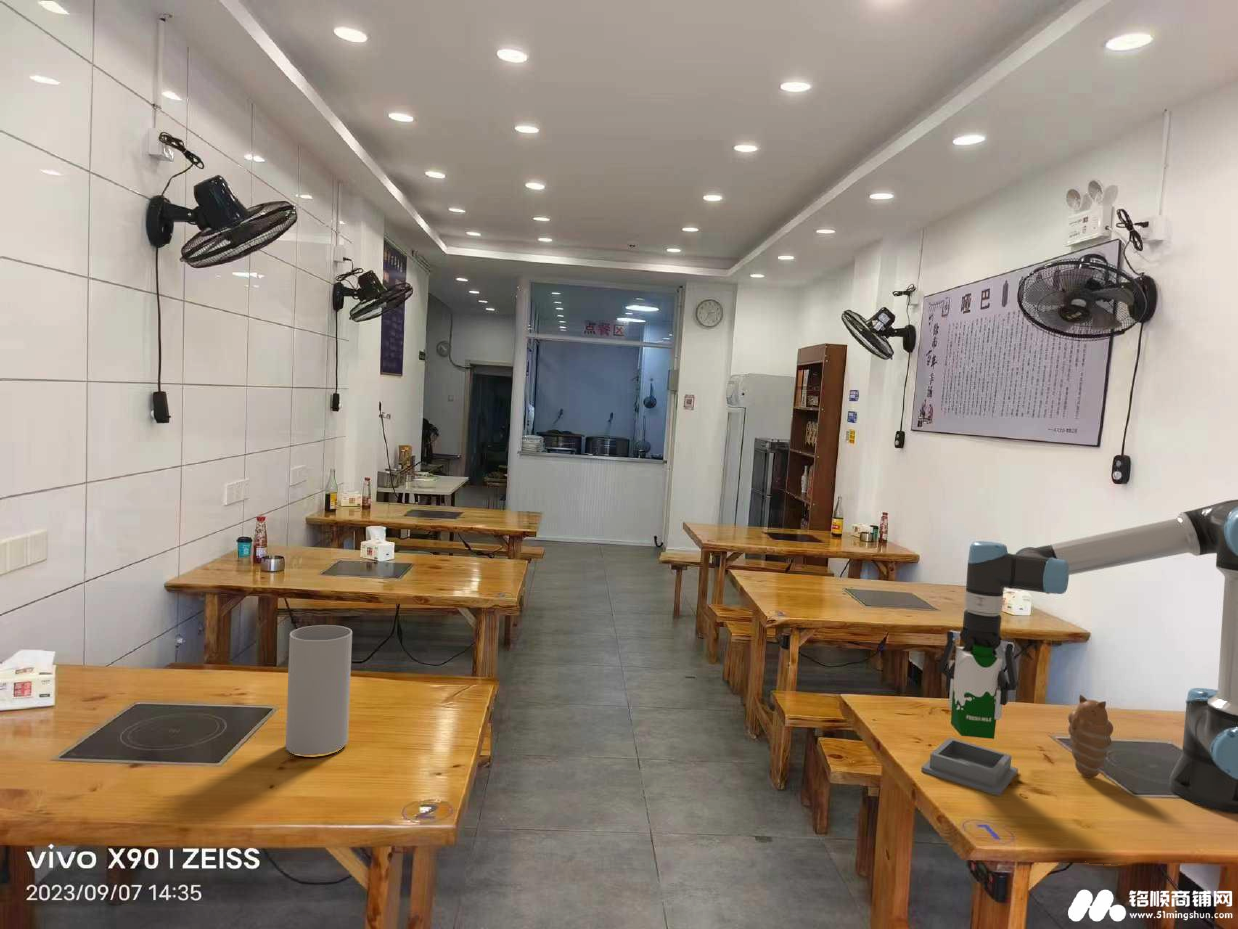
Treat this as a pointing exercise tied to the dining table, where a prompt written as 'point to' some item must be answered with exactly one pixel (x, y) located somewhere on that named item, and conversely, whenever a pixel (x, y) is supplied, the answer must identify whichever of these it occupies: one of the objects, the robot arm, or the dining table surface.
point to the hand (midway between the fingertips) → (974, 712)
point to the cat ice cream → (1089, 736)
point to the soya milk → (975, 691)
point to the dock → (971, 766)
